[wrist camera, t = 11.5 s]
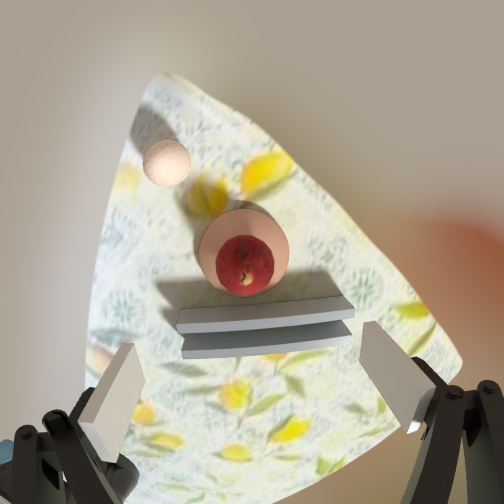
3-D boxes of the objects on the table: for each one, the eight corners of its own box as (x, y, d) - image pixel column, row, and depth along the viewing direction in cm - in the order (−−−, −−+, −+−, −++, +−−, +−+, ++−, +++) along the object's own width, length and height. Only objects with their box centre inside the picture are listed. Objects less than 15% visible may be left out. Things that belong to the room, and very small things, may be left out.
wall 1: (187, 341, 36) (182, 359, 32) (185, 333, 35) (181, 350, 32) (341, 328, 37) (351, 343, 33) (341, 320, 36) (352, 334, 32)
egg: (159, 190, 31) (138, 193, 24) (150, 150, 30) (127, 143, 23) (199, 179, 31) (189, 179, 24) (190, 139, 30) (177, 128, 23)
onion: (217, 229, 32) (211, 245, 24) (270, 229, 32) (282, 245, 24) (217, 280, 33) (213, 310, 25) (269, 280, 33) (279, 310, 26)
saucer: (204, 297, 34) (203, 300, 33) (195, 212, 32) (194, 213, 31) (288, 290, 35) (290, 293, 34) (286, 206, 32) (287, 206, 31)
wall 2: (183, 317, 35) (177, 333, 31) (181, 308, 35) (175, 324, 31) (342, 304, 36) (354, 317, 32) (343, 295, 35) (354, 308, 32)
